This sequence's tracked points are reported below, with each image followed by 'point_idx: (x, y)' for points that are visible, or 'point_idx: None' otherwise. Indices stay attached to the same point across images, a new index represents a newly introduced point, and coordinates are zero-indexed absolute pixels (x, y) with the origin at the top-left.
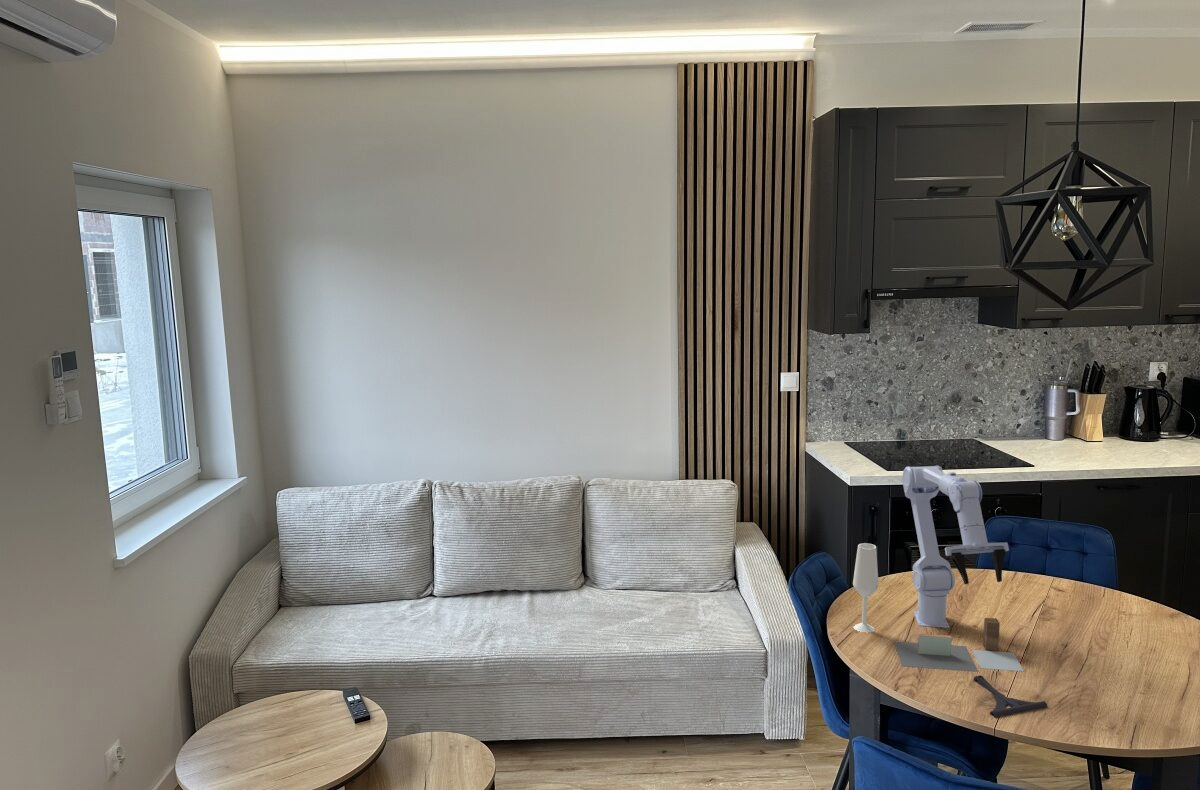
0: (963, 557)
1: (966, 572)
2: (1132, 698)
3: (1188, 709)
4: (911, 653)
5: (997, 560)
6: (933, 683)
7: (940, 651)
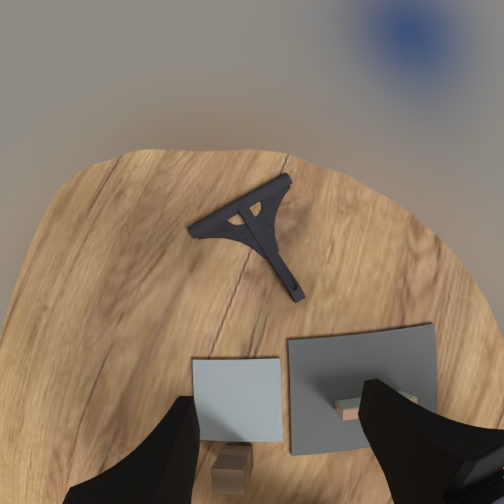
0: (457, 452)
1: (394, 407)
2: (60, 288)
3: (21, 270)
4: (412, 388)
5: (157, 471)
6: (380, 272)
7: (359, 399)
